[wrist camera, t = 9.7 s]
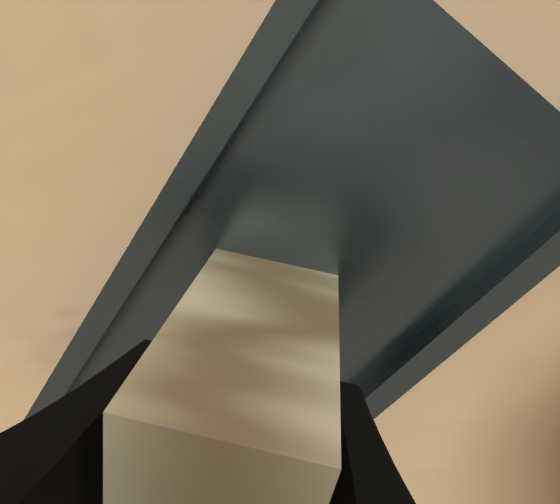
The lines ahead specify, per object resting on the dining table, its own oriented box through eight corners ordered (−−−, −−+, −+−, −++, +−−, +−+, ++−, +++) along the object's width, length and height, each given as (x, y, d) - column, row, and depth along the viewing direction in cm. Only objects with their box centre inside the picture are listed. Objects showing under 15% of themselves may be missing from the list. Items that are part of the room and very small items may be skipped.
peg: (338, 274, 13) (341, 469, 7) (311, 372, 15) (293, 603, 8) (216, 248, 13) (102, 412, 7) (203, 347, 15) (103, 554, 8)
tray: (607, 168, 12) (656, 185, 10) (236, 497, 20) (226, 540, 18) (335, -69, 10) (335, -100, 9) (53, 388, 18) (21, 423, 16)
